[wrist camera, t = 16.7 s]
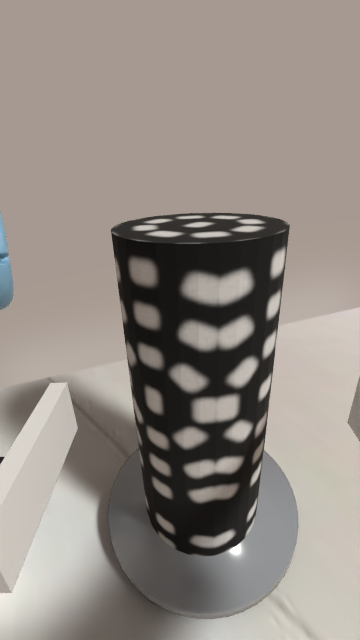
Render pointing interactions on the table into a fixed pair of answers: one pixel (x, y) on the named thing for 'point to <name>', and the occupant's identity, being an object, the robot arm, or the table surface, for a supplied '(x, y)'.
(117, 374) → the table surface
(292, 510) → the dish
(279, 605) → the table surface
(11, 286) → the robot arm
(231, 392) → the white-spotted black cylinder
